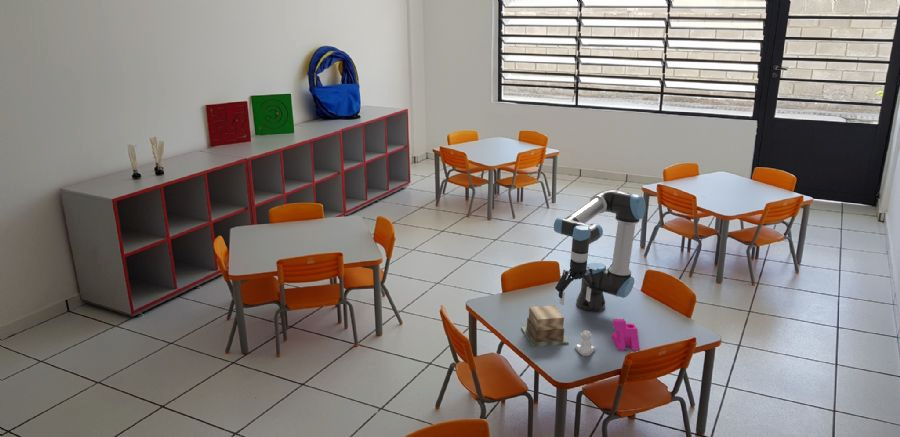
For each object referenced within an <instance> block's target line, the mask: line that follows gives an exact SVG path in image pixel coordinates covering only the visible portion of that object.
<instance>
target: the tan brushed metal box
mask: <svg viewBox="0 0 900 437" xmlns="http://www.w3.org/2000/svg"><path fill="white" fill-rule="evenodd" d="M528 307H529V309H528V317H527V319H526V326H521V330H522V332H523V334H524V335H525V337H526V338H527V340H528V342H529V344H530V345H531V347H532V348H536V347H538V348H539V347H546V346H547V347H549V346H550V347H551V346H559V345H561V346H562V345H569V344H570V342H569V340H568V339H567V337H566V336H565V327H564V324H565V323H564V320H565V316H563V314H562V313H561V312H560V310H559V309H558V307H557V306H556V305H555V304H553V305H552V304H550V305H541V306H540V305H539V306H538V305H536V306H528Z"/></svg>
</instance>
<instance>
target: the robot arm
mask: <svg viewBox="0 0 900 437" xmlns="http://www.w3.org/2000/svg"><path fill="white" fill-rule="evenodd" d="M646 207H647V206H646V201H645V198H644V197H643V196H642V195H639V194H636V193H632V192H627V191H623V190H618V189H605V190H603V191H600V192H598V193H596V194H594V195H592V196H591V197H590V198H589V201H587V202H586V203H585V204H584V205H582V206H580V207H579V208H577V210H575V211H574V212H572V213H571V214H569V215H568V216H567V217H559V216H558V217H557V218H556V219H554V222H553V231H554V233H557V234H560V235H564V236H567V237H570V238H572V240H571V249H570V250H571V251H570V261H569V270H566V269H563V270H562V275H561V276H560V278H559V280H558V281H557V283H556V285H555V290H556V291H557V292H558V298H559V304H560V305H561V306H564V304H565V290H566V289H567V287H568V286H569V285H570V284H571V283H572V282H573V281H574V280H575V281H576V280H581V283H580V284H581V285H580V291H579V293H578V295H577V297H576V302H575V303H576V307H577V308H578V309H581V310H583V311H587V312H600V311H603V310H604V309H605V308H606V300H605V296H604V293H605V294H609V295H613V296H615V297H617V298H618V297H620V298H623V299H624V298H626V297H628V296H629V294H630V293H631V292H632V290H633V288H634V284H635V277H634V276H632V271H631V270H630V263H631V262H630V261H631V257H632V256H631V255H632V251H633V243H634V237H635V230H636V224H638V223H639V222H640V220H642V219H643V218H644V216H645V213H646V209H647V208H646ZM605 212H608V213H612V214H615V220H616V221H617V226H616V232H615V234H616V235H615V242H614V246H613V247H614V248H613V254H612V260H611V266H610V267H608V269H607V267H606V264H604V263H601V262H590V263H588V259H589V247H590V245H591V244H592V243H594V242H597V241H598V240H599V239H600V238H602V236H603V234H604V230H603V227H602V226H601V225H600V224H598V223H590V224H588V222H589V221H590V220H592V219H593V218H594V217H596V216H597V215H600V214H603V213H605Z"/></svg>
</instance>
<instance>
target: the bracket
mask: <svg viewBox="0 0 900 437" xmlns="http://www.w3.org/2000/svg"><path fill="white" fill-rule="evenodd" d="M612 320H613V321H612V326H613V328H614V330H615V332H612V333H611V336H610V337H611V339H612V341H613V344H614V345H615V347H616V349H617V351H626V346H629V347H630V348H631V350H632V351H640V349H641V348H640V341H639V333H638V332H639V331H638V328H637V326H636V325H635V323H627V322H626V320H625V318H613V319H612Z"/></svg>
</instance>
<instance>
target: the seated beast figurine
mask: <svg viewBox="0 0 900 437" xmlns="http://www.w3.org/2000/svg"><path fill="white" fill-rule="evenodd" d="M579 336H580V337H581V338H582V340H581V342H580V344H575V345H574V346H575V351H577V352H578V353H579V354H580V355H581V356H583V357H590V356H591V355H592V354H593V353H594V352H595V350H596V346H594V345H592V340H591V338H592V337H593V336H594V335H593V333H591V331H590V330H583V331H582V332H581V333H579Z"/></svg>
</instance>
